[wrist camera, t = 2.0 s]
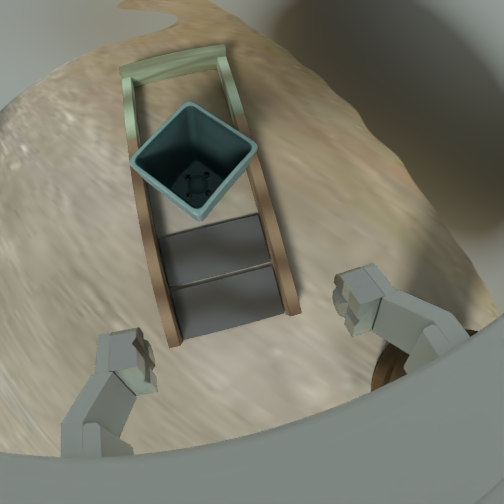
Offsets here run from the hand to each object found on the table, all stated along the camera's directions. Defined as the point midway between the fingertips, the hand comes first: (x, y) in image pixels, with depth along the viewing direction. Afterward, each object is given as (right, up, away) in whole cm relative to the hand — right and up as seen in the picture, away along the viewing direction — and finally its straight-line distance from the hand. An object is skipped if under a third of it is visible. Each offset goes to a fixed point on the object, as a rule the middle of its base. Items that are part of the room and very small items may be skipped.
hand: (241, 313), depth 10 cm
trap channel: (-6, +10, +25) cm, 27 cm away
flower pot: (-6, +10, +25) cm, 27 cm away
